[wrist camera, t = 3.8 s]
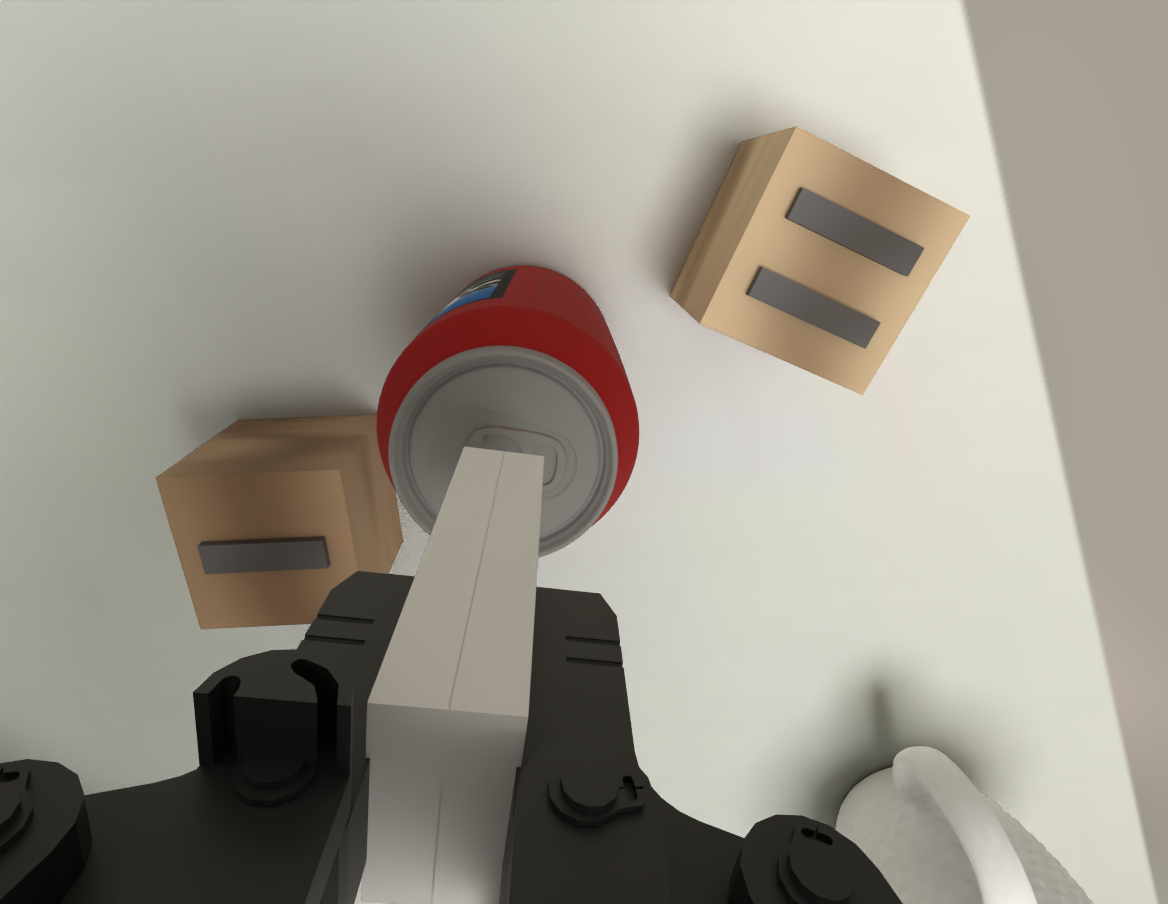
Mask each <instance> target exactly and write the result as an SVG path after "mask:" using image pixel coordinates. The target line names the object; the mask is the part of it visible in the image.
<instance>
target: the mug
mask: <svg viewBox="0 0 1168 904" xmlns="http://www.w3.org/2000/svg"><path fill="white" fill-rule="evenodd" d="M835 830H836V831H838V832H839V833H841V834H842V835H844V836H845V837H846V838H848V839H849V840H851V841H852V842H854V843H855V844H857V846H858V847H859V848H860V849H861V850H862V851H863V852H864V853H865V854H866V856H867V857H868V858H869V859H870V860H871V861H872V862H873V863H874V864H875V866H876V867H877V868H878V869H879V870H880V872H881V873H882V874H883V876H884V877H885V879H886V880H887V882H888V883H889V885H890V886H891V887H892V889H893V890H894V892H895V893H896V895H897V896H898V897H899V899H900V900H901V902H902V903H903V904H1094V903H1093V902H1092V900H1090V899H1089V898H1088V897H1087V895H1086V893H1085V891H1084V890H1083V889H1082V888H1081V887H1080V886H1079V885H1078V884H1077V882H1076V881H1075V880H1074V879H1073V878H1072V877H1071V876H1070V875H1069V874H1068V872H1067V870H1066V869H1065V868H1064V867H1062V865H1061V864H1060V862H1059V861H1058V860H1057V859H1056V858H1054V857H1053V856H1052V855H1051V854H1050V853H1049V852H1048V851H1047V850H1046V848H1045V847H1044V845H1043V844H1042V843H1040V842H1039V841H1038V840H1037V839H1036V838H1035V837H1034V836H1033V835H1032V834H1031V833H1029V832H1028V831H1027V830H1026V829H1025V828H1024V827H1023V826H1022V825H1021V824H1020V822H1019V821H1018V820H1016V819H1015V818H1013V817H1012V816H1011V815H1010V814H1008V813H1007V812H1005V811H1004V810H1003V809H1002V808H1001V807H1000V806H999V805H998V804H997V803H996V802H994V801H992V800H991V799H989V798H988V797H987V796H985V795H984V794H983V793H981V792H980V791H979V790H978V789H977V788H976V787H975V786H974V784H973V783H972V782H971V780H970V779H969V778H968V777H967V776H966V775H965V773H964V772H963V771H962V770H961V769H960V768H959V767H958V766H957V765H956V764H955V763H954V762H953V761H952V760H951V759H950V758H948V757H947V756H946V755H945V754H943V753H942V752H940V751H939V750H937V749H934V748H931V747H927V746H914V747H909V748H906V749H904V750H902V751H900V752H899V753H898V754H897V755H896V756H895V758H894V761H893V767H890V768H887V769H883V770H880V771H878V772H875V773H873V774H871V775H870V776H868V777H866V778H865V779H863V780H862V781H860V782H859V783H858V784H857V785H856V786H854V787H853V789H852V790H851V791H850V792H849V793H848V795H847V796H846V798H845V799H844V801H843V803H842V805H841V807H840V810H839V813H838V817H837V822H836V827H835Z"/></svg>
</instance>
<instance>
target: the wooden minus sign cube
mask: <svg viewBox="0 0 1168 904" xmlns="http://www.w3.org/2000/svg"><path fill="white" fill-rule="evenodd" d="M156 481H157V484H158V487H159V491H160V494H161V497H162V501H163V504H164V508H165V511H166V514H167V518H168V521H169V524H170V528H171V531H172V534H173V538H174V541H175V544H176V548H177V551H178V555H179V558H180V561H181V565H182V568H183V571H184V575H185V578H186V581H187V585H188V588H189V591H190V595H191V598H192V602H193V605H194V608H195V612H196V615H197V618H198V622H199V625H200V628H201V629H215V628H235V627H255V626H276V625H296V624H312V622H313V620H314V619H316V618H317V613H318V612H319V610H320V608H321V606H322V605H323V603H324V601H325V600H326V598H327V596H328V594H329V593H330V591H331V589H333V588H334V587H336V586H337V585H338V584H340V583H341V582H343V581H344V580H345V579H347V578H348V577H350V576H351V575H352V574H354V573H355V572H357V571H365V572H375V573H384V574H388V573H389V571H390V569H391V567H392V564H393V562H394V560H395V558H396V555H397V553H398V551H399V549H400V546H401V544H402V542H403V538H402V532H401V525H400V518H399V512H398V505H397V499H396V492H395V489H394V487H393V485H392V484H391V482H390V480H389V477H388V475H387V473H386V471H385V468H384V465H383V462H382V459H381V455H380V452H379V446H378V441H377V414H372V415H348V416H324V417H300V418H277V419H253V420H237V421H236V422H234V423H233V424H231V425H230V426H228V427H227V428H226V429H224V430H223V431H221V432H220V433H219V434H217V435H216V436H214V437H213V438H211V439H210V440H209V441H207V442H206V443H204V444H203V445H202V446H200V447H199V448H197V449H196V450H194V451H193V452H192V453H190V454H189V455H187V456H186V457H184V458H183V459H182V460H180V461H179V462H177V463H176V464H175V465H173V466H172V467H170V468H169V469H167V470H166V471H165V472H163V473H162V474H160V475H159V476H157V477H156Z"/></svg>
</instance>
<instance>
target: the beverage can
mask: <svg viewBox="0 0 1168 904" xmlns="http://www.w3.org/2000/svg"><path fill="white" fill-rule="evenodd" d="M377 441H378V446H379V452H380V455H381V459H382V462H383V465H384V468H385V471H386V473H387V475H388V477H389V480H390V482H391V484H392V485H393V487H394V489H395V490H396V492H397V494H398V496H399V498H400V501H401V502H402V504H403V505H404V507H405V509H406V510H407V511H408V513H409V514H410V516H411V517H412V518H413V519H414V521H415V522H416V523H417V524H418V525H419V526H420V527H421V528H422V529H423V530H424V531H425V532H427V533H428V534H429V535H431V533H432V530H433V527H434V525H435V522H436V519H437V517H438V514H439V512H440V509H441V506H442V504H443V501H444V498H445V496H446V493H447V490H448V488H449V485H450V482H451V480H452V477H453V475H454V472H455V469H456V467H457V464H458V461H459V459H460V456H461V453H462V451H463V448H464V446H465V447H473V448H481V449H489V450H497V451H506V452H514V453H522V454H530V455H538V456H544V468H543V484H542V500H541V517H540V533H539V549H538V557H542V556H545V555H548V554H550V553H553V552H555V551H557V550H559V549H561V548H564V547H565V546H567V545H568V544H570V543H572V542H573V541H575V540H576V539H577V538H579V537H580V536H581V535H582V534H583V533H585V532H586V531H587V530H588V529H589V528H590V527H591V526H593V525H594V524H595V523H596V522H597V521H599V520H600V519H601V518H602V517H603V516H604V515H605V514H606V513H607V512H608V511H609V509H610V508H611V507H612V506H613V505H614V503H615V502H616V501H617V499H618V498H619V496H620V495H621V493H622V492H623V490H624V488H625V486H626V485H627V482H628V480H629V478H630V476H631V473H632V471H633V468H634V465H635V461H636V457H637V451H638V445H639V421H638V413H637V408H636V403H635V400H634V397H633V394H632V390H631V387H630V384H629V381H628V378H627V375H626V372H625V369H624V367H623V364H622V361H621V359H620V356H619V353H618V351H617V348H616V346H615V343H614V341H613V338H612V336H611V333H610V331H609V328H608V326H607V324H606V322H605V320H604V317H603V315H602V313H601V311H600V310H599V308H598V306H597V305H596V303H595V302H594V301H593V299H592V298H591V297H590V296H589V295H588V294H587V293H586V291H584V290H583V289H582V288H581V287H580V286H579V285H577V284H576V283H575V282H573V281H572V280H570V279H569V278H567V277H565V276H563V275H561V274H559V273H557V272H554V271H552V270H548V269H545V268H540V267H534V266H512V267H506V268H502V269H498V270H495V271H492V272H490V273H488V274H486V275H484V276H482V277H480V278H478V279H477V280H475V281H474V282H472V283H471V284H470V285H469V286H468V287H466V288H465V289H464V290H463V291H462V292H461V293H460V294H458V295H457V296H456V297H455V298H454V299H453V300H452V301H451V302H450V303H449V304H448V305H447V306H446V307H445V308H444V309H443V310H442V311H441V312H440V313H439V314H438V315H437V316H436V317H435V318H434V319H433V320H432V321H431V322H430V323H429V324H428V325H427V326H426V327H425V328H424V329H423V330H422V331H421V332H420V333H419V335H418V336H417V337H416V338H415V339H414V340H413V341H412V342H411V343H410V344H409V345H408V347H407V348H406V349H405V350H404V351H403V353H402V354H401V355H400V356H399V358H398V359H397V361H396V362H395V364H394V365H393V367H392V369H391V370H390V372H389V374H388V376H387V378H386V381H385V383H384V386H383V389H382V392H381V395H380V399H379V404H378V410H377Z"/></svg>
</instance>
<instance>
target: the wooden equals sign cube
mask: <svg viewBox="0 0 1168 904" xmlns="http://www.w3.org/2000/svg"><path fill="white" fill-rule="evenodd" d="M969 217H970V216H969V215H967V214H966V213H964V212H962V211H960V210H958V209H956V208H954V207H952V206H950V205H948V204H946V203H944V202H942V201H940V200H938V199H936V198H934V197H933V196H931V195H929V194H927V193H925V192H923V191H921V190H919V189H917V188H915V187H913V186H911V185H909V184H907V183H905V182H903V181H902V180H900V179H898V178H896V177H894V176H892V175H890V174H888V173H886V172H884V171H882V170H880V169H878V168H876V167H874V166H872V165H871V164H869V163H867V162H865V161H863V160H861V159H859V158H857V157H855V156H853V155H851V154H849V153H847V152H845V151H843V150H841V149H839V148H838V147H836V146H834V145H832V144H830V143H828V142H826V141H824V140H822V139H820V138H818V137H816V136H814V135H812V134H810V133H808V132H807V131H805V130H803V129H801V128H799V127H797V126H796V127H792V128H789V129H785V130H782V131H778V132H775V133H771V134H767V135H764V136H760V137H757V138H753V139H750V140H746V141H743V142H741V144H740V146H739V148H738V150H737V152H736V155H735V157H734V159H733V161H732V163H731V165H730V167H729V170H728V172H727V174H726V176H725V178H724V180H723V182H722V185H721V187H720V189H719V191H718V193H717V195H716V197H715V199H714V202H713V204H712V206H711V208H710V210H709V212H708V214H707V217H706V219H705V221H704V223H703V225H702V227H701V229H700V232H699V234H698V236H697V238H696V240H695V242H694V244H693V247H692V249H691V251H690V253H689V255H688V257H687V259H686V262H685V264H684V266H683V268H682V270H681V272H680V274H679V277H678V279H677V281H676V283H675V285H674V287H673V289H672V292H671V294H670V297H671V298H672V299H674V300H675V301H676V302H677V303H678V304H679V305H680V306H681V307H682V308H683V309H684V310H686V311H687V312H688V313H689V314H690V315H691V316H692V317H693V318H694V319H695V320H696V321H698V322H699V323H700V324H702V325H704V326H706V327H709V328H711V329H713V330H715V331H718V332H720V333H722V334H725V335H727V336H729V337H731V338H734V339H736V340H738V341H740V342H743V343H745V344H747V345H750V346H752V347H754V348H756V349H759V350H761V351H763V352H765V353H768V354H770V355H772V356H775V357H777V358H779V359H781V360H784V361H786V362H788V363H790V364H793V365H795V366H797V367H800V368H802V369H804V370H806V371H809V372H811V373H813V374H815V375H818V376H820V377H822V378H825V379H827V380H829V381H831V382H834V383H836V384H838V385H840V386H843V387H845V388H847V389H850V390H852V391H854V392H856V393H859V394H861V395H863V394H864V392H865V390H866V389H867V387H868V385H869V384H870V382H871V380H872V379H873V377H874V375H875V374H876V372H877V370H878V369H879V367H880V365H881V364H882V362H883V360H884V359H885V357H886V355H887V354H888V352H889V350H890V349H891V347H892V345H893V344H894V342H895V340H896V339H897V337H898V335H899V334H900V332H901V330H902V329H903V327H904V325H905V324H906V322H907V320H908V319H909V317H910V315H911V314H912V312H913V310H914V309H915V307H916V305H917V304H918V302H919V300H920V299H921V297H922V295H923V294H924V292H925V290H926V289H927V287H928V285H929V284H930V282H931V280H932V279H933V277H934V275H935V274H936V272H937V270H938V269H939V267H940V265H941V264H942V262H943V260H944V259H945V257H946V255H947V254H948V252H949V250H950V249H951V247H952V245H953V244H954V242H955V240H956V239H957V237H958V235H959V234H960V232H961V230H962V229H963V227H964V226H965V224H966V222H967V221H968V219H969Z"/></svg>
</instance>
